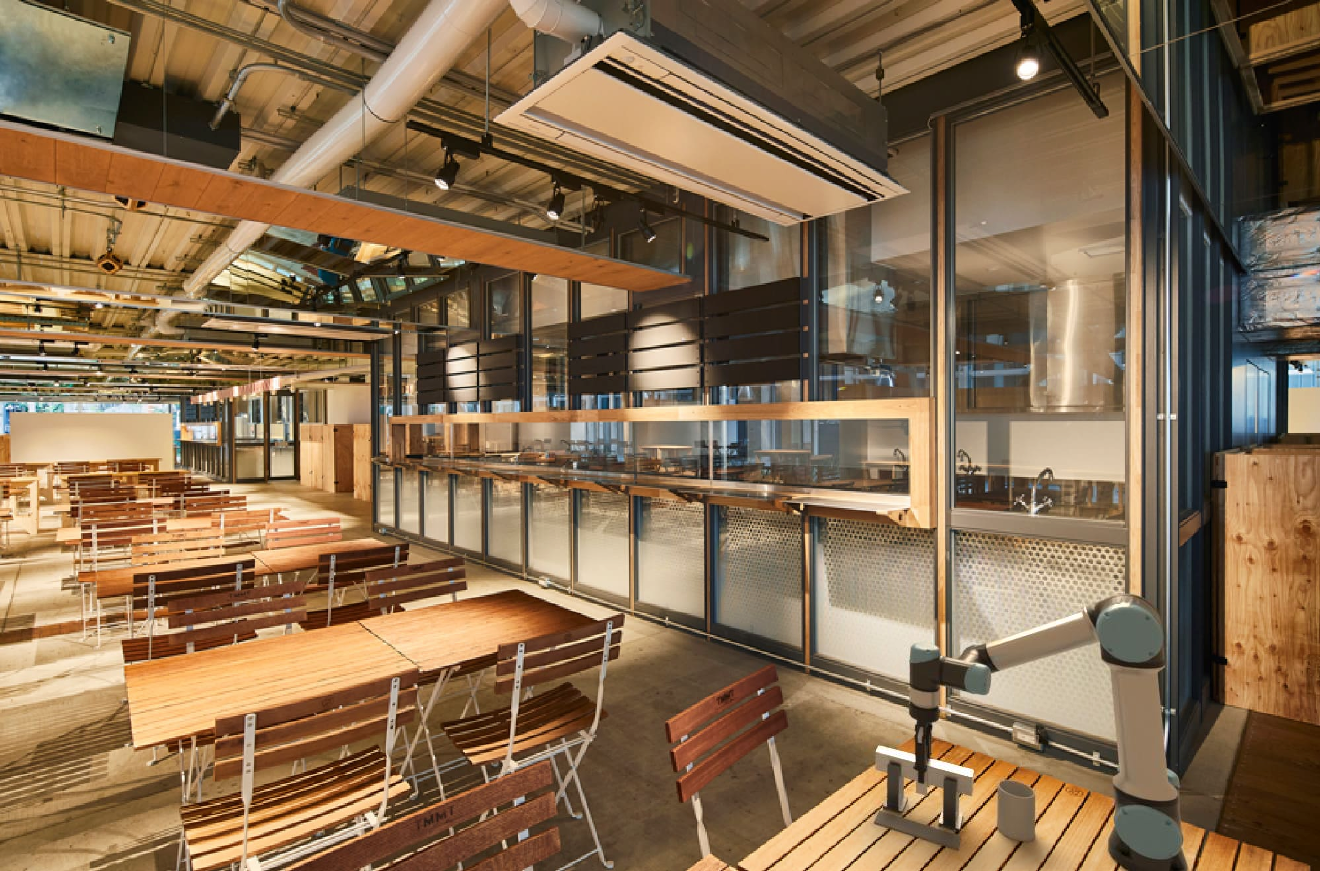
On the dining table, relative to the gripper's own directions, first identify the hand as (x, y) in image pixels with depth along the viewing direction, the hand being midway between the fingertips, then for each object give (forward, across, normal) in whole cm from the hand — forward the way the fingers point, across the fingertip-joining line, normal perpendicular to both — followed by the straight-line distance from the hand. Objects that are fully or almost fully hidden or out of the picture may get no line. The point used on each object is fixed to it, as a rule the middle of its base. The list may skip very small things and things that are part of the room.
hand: (922, 789), depth 170 cm
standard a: (+6, 0, +7) cm, 9 cm away
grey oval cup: (+7, -6, +21) cm, 23 cm away
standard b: (+6, 0, -7) cm, 9 cm away
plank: (+6, +9, 0) cm, 11 cm away
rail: (-3, 0, 0) cm, 3 cm away
